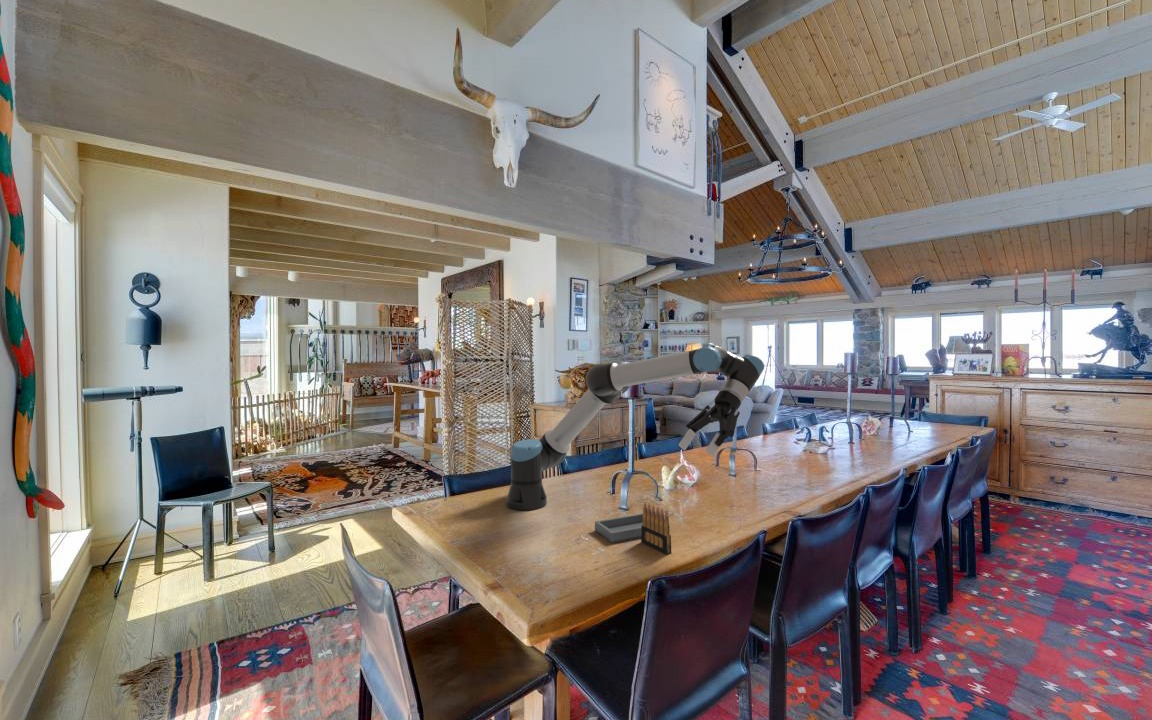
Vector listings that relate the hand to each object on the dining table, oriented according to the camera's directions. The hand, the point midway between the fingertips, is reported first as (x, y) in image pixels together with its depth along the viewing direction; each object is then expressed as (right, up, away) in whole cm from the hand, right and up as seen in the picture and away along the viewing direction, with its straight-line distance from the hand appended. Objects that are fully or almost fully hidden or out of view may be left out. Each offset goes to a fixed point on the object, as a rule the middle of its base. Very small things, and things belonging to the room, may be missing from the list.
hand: (694, 450), depth 138 cm
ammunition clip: (-13, -27, -6) cm, 31 cm away
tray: (-18, -27, +6) cm, 33 cm away
